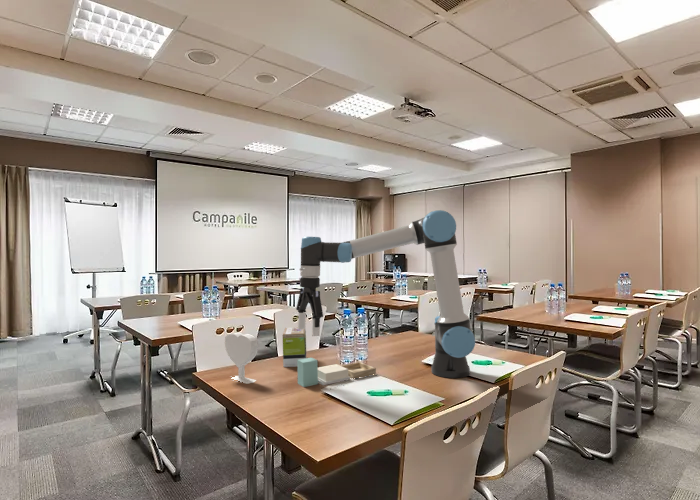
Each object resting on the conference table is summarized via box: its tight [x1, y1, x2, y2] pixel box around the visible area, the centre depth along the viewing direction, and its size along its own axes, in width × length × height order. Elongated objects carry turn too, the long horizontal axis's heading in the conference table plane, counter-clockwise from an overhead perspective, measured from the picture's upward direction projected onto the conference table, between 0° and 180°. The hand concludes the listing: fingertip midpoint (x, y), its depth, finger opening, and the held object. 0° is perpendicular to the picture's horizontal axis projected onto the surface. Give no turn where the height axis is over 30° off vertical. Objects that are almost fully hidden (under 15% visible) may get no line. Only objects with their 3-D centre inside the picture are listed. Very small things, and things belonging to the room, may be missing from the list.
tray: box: [341, 361, 377, 380], centre depth 164 cm, size 12×11×3 cm
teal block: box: [296, 357, 319, 388], centre depth 152 cm, size 5×6×9 cm
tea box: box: [282, 327, 307, 368], centre depth 183 cm, size 15×10×15 cm, turn 5°
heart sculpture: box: [224, 332, 259, 385], centre depth 159 cm, size 16×5×18 cm, turn 56°
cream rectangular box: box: [318, 363, 351, 386], centre depth 158 cm, size 10×12×4 cm
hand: (308, 332), depth 154 cm, fingers open, 13 cm apart
